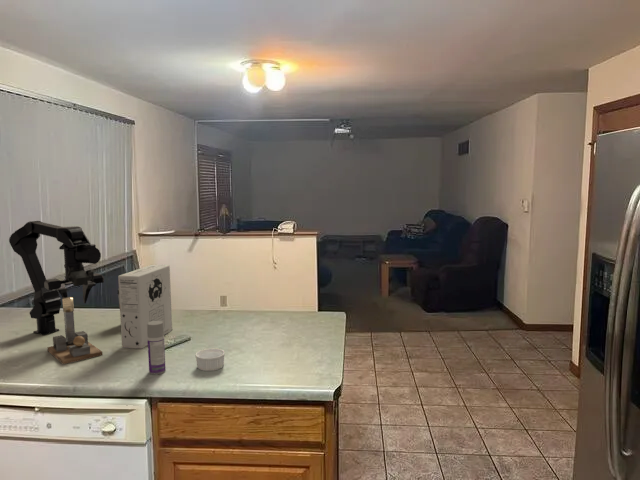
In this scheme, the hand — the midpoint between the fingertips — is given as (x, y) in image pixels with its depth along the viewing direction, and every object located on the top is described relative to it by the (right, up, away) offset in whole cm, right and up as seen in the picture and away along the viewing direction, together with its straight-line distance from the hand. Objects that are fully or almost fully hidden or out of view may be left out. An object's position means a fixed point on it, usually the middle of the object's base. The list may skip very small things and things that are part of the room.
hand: (76, 304), depth 186 cm
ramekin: (+54, -16, -28) cm, 63 cm away
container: (+39, -16, -32) cm, 53 cm away
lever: (+4, -11, -13) cm, 18 cm away
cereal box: (+26, -12, -1) cm, 29 cm away
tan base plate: (+7, -14, -16) cm, 22 cm away
